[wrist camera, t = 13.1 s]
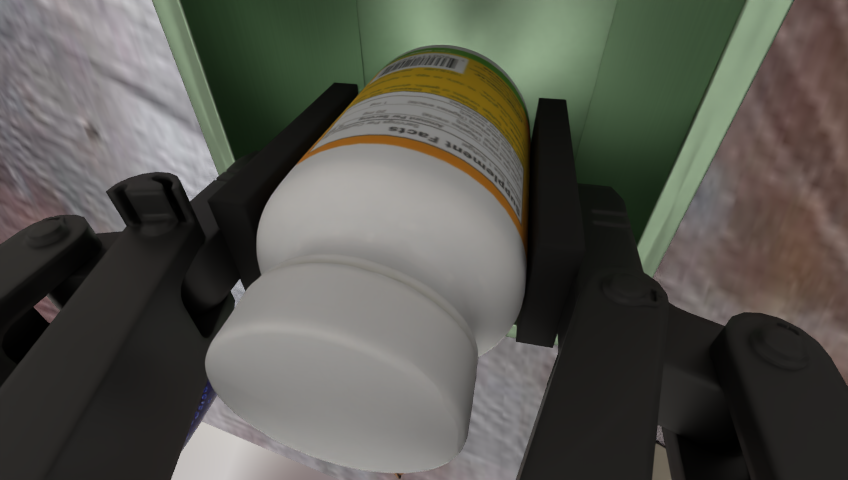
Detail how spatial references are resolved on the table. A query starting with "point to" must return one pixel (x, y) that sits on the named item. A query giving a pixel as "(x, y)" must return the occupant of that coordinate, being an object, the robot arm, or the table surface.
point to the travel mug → (661, 464)
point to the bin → (518, 56)
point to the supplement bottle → (387, 269)
